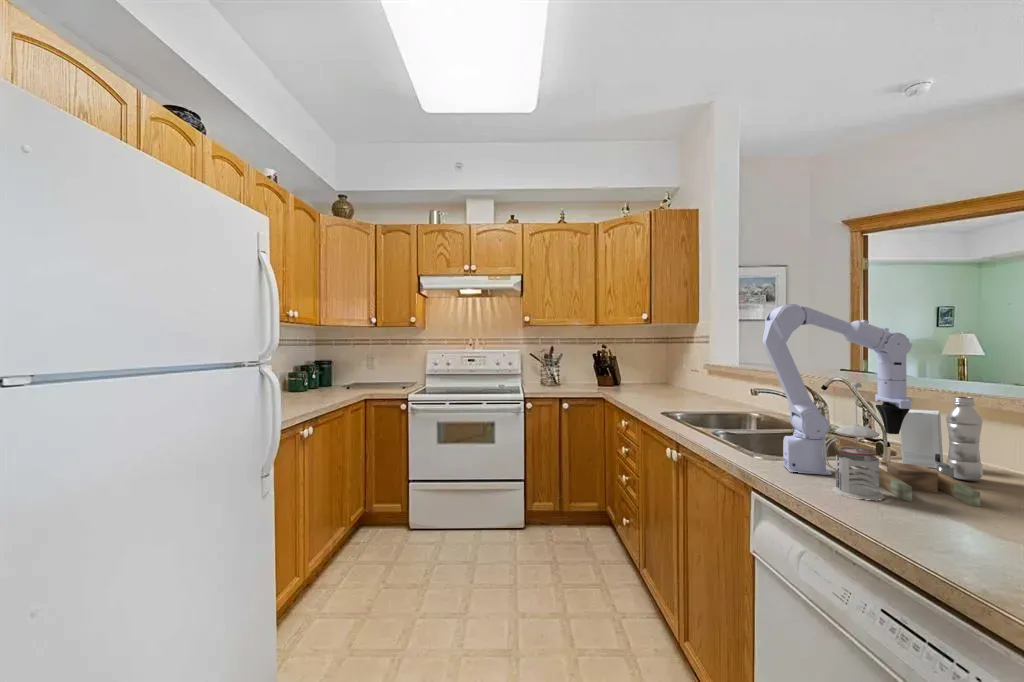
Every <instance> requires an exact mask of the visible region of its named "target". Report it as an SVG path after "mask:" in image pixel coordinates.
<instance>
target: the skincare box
mask: <svg viewBox="0 0 1024 682" xmlns="http://www.w3.org/2000/svg"><path fill="white" fill-rule="evenodd" d="M942 438H943V437H942V420H941V411H940V410H930V409H929V410H926V409H909V412H908V413H907V414H906V416H905V417H904V420H903V422H902V425H901V429H900V443H901V459H902V462H901V464H916V465H924V466H926V467H927V468H929V469H935V470H937V465H938V464H936V463H935V454H940V461H941V462H943V463H944V453H943V452H944V451H943V439H942Z"/></svg>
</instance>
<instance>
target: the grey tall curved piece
mask: <svg viewBox="0 0 1024 682" xmlns="http://www.w3.org/2000/svg"><path fill="white" fill-rule="evenodd" d="M850 386H851V388H855V424H849V425H844V426H840V427H837V428H836V429H835V430H834V432H835V433H836V434H837V435H840V436H846V437H853V438H855V442H856V443H855V444H856V445H855V446H850V445H849V446H845V445H844V446H839V445H841V440H840V438H837V437H834V436H833V437H830V438H828V439H826V442H825V444H824V446H823V448H822V457H823V460H824V462H825V464H826V466H828V467H829V468H831V470H834V471H835V486H834V487H832V488H833V489H832V488H831V489H832V490H833V491H835V492H838V493H840V494H844V495H847V496H852V497H856V498H862V499H870V500H879V499H884V498H885V499H886V496H885V495H884V494H882V492H880V484H879V468H880V466H879V465H880V464H879V458H878V457H875V456H876V455H877V454H878V452H877V451H876V450H874V449H871V448H864V447H863V448H862V447H859V446H858V438H867V439H868V438H871V439H873V438H879V436H880V435H881V434H880V433H879V432H877V431H875V430H873V429H872V428H869V427H867V426H864V425H860V424H858V394H857V393H858V392H857V390H858V389H857V388H862V383H861V382H859V381H853V382H852V383H851V384H850ZM830 440H831V441H830ZM837 440H838V441H837ZM829 441H830V442H829ZM833 442H835V444H836V445H838V448H837V450H838V451H839V452H840V453H837V454H835V468H834V467H833V466H832V465H831V464H830V463H829V460H828V449H829V447H830V445H831V444H832V443H833ZM827 443H828V444H827ZM825 445H826V452H825V455H826V461H825V459H824V451H823V450H824V447H825ZM853 467H855V468H853ZM854 473H856V474H854ZM855 479H857V480H855ZM885 499H884V500H885Z"/></svg>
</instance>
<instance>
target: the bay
mask: <svg viewBox="0 0 1024 682" xmlns="http://www.w3.org/2000/svg"><path fill="white" fill-rule="evenodd" d="M932 470H933V471H935V472H937V473H938V490H939V489H940V490H941V491H943V492H945V493H947V494H949V495H950V496H953V497H954V498H956V499H958V500H960V501H962V502H963V503H965V504H966V505H969V506H971V507H981V491H979V490H977V489H975V488H973V487H972V486H971V487H970V486H969V485H967V484H964V482H963V483H962V482H961V481H958V479H957V480H956V478H954V479H953V478H951V477H949V476H947V475H944V474H942V473H940V472H938V471H937V469H932ZM879 486H881V487H883V488H885V489H886V490H887V491H889V492H890V493H892V494H893V495H894V496H896V497H897V498H899V499H900V500H901V501H903V500H906V501H905V502H913V490H912V487H911V486H909V485H908V484H906V483H904V482H903V481H901V480H899V479H898V478H896V477H894V476H893V475H891V474H889V473H888V472H887V470H884V469H883V468H881V467H879Z"/></svg>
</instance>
